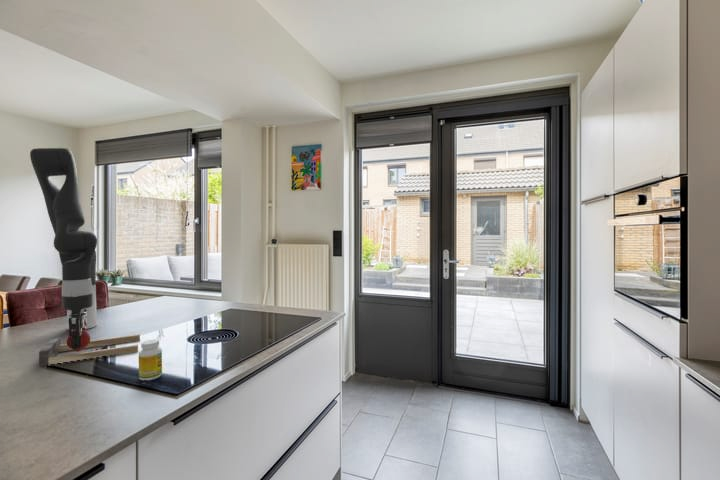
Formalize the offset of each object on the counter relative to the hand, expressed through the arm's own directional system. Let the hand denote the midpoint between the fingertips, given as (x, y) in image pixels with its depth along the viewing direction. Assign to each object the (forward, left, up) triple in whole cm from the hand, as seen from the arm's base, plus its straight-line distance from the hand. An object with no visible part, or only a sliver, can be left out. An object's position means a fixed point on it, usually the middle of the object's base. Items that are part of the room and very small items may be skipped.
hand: (78, 344), depth 108 cm
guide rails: (0, +4, -3) cm, 5 cm away
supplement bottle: (+32, +20, -3) cm, 38 cm away
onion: (0, 0, -2) cm, 2 cm away
